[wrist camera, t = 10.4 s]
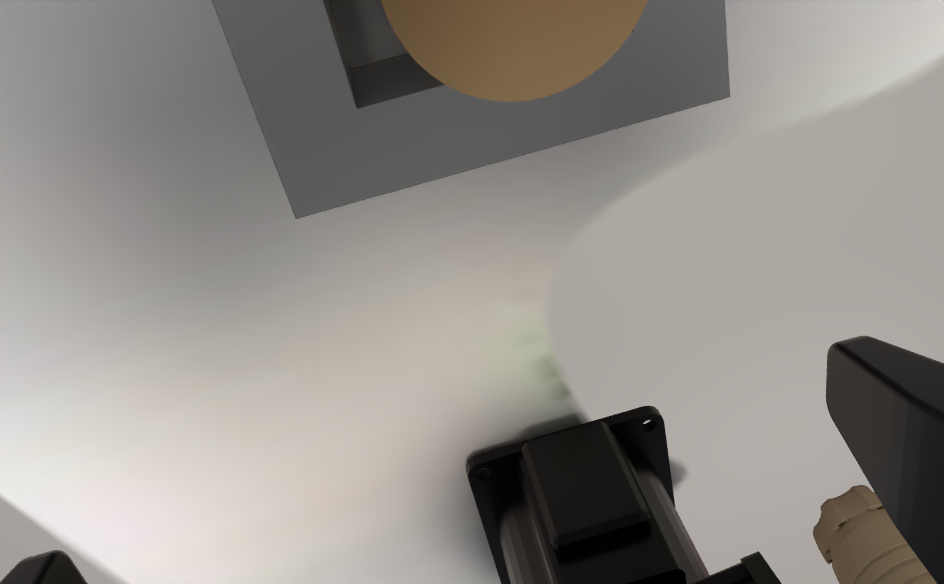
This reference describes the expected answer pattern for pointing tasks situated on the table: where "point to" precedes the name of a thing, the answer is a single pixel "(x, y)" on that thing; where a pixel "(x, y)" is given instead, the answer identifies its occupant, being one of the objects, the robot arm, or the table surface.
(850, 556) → the handle
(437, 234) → the table surface
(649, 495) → the robot arm
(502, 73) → the long peg
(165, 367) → the table surface
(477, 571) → the table surface
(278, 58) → the block
